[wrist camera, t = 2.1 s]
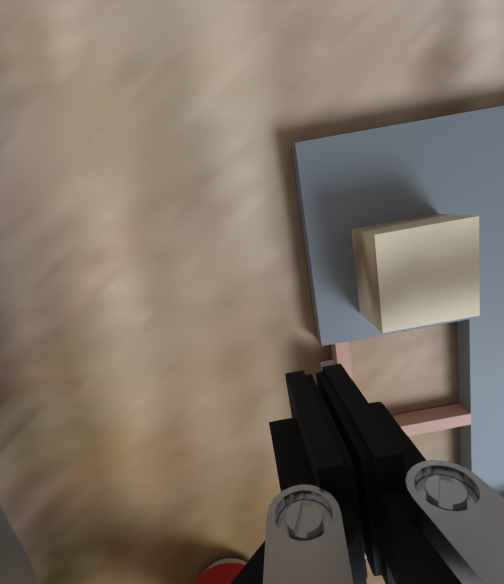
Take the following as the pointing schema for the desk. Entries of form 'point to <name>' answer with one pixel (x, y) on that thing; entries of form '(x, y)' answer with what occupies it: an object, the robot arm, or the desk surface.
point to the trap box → (406, 205)
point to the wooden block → (418, 271)
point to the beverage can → (222, 571)
